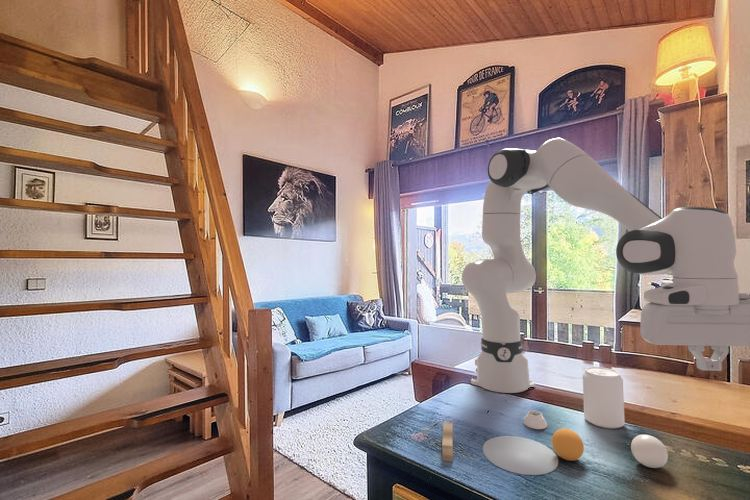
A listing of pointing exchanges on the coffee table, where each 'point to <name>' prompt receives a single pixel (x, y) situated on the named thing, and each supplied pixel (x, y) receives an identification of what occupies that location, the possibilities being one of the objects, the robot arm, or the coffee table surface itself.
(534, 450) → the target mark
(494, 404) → the coffee table surface
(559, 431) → the orange ball
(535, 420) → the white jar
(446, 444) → the wall
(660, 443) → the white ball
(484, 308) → the robot arm
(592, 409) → the beverage can
